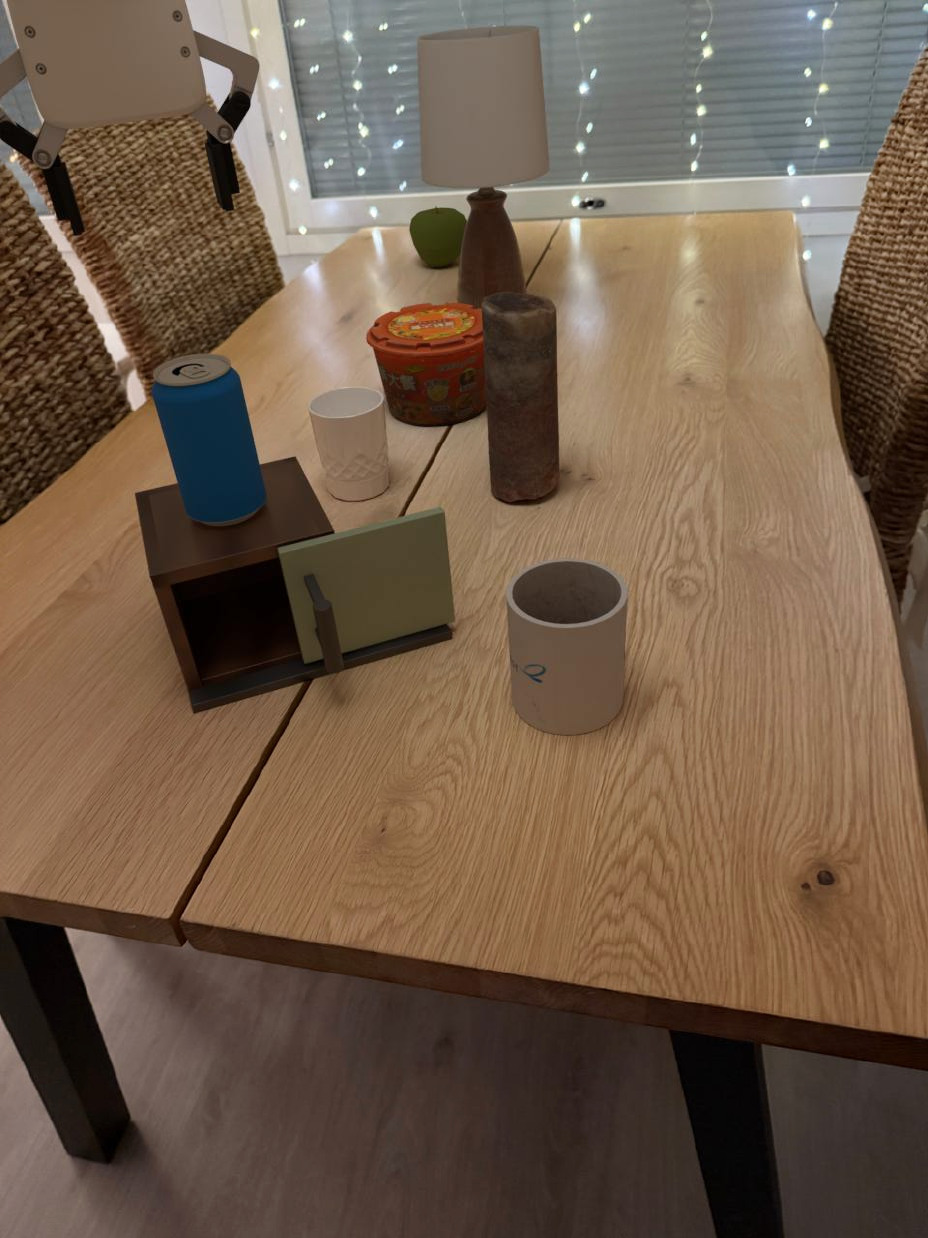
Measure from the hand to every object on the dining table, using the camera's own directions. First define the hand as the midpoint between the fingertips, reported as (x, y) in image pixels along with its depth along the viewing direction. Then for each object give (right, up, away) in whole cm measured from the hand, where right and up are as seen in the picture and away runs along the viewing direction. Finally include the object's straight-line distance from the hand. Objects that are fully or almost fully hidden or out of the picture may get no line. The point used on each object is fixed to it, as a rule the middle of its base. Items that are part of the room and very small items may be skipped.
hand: (154, 218), depth 61 cm
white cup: (+9, -12, +40) cm, 43 cm away
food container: (+17, 0, +56) cm, 59 cm away
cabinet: (+7, -27, +21) cm, 35 cm away
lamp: (+25, +23, +85) cm, 91 cm away
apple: (+17, +37, +106) cm, 113 cm away
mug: (+28, -32, +12) cm, 44 cm away
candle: (+27, -13, +37) cm, 48 cm away
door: (+14, -30, +14) cm, 36 cm away
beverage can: (+2, -18, +13) cm, 23 cm away
